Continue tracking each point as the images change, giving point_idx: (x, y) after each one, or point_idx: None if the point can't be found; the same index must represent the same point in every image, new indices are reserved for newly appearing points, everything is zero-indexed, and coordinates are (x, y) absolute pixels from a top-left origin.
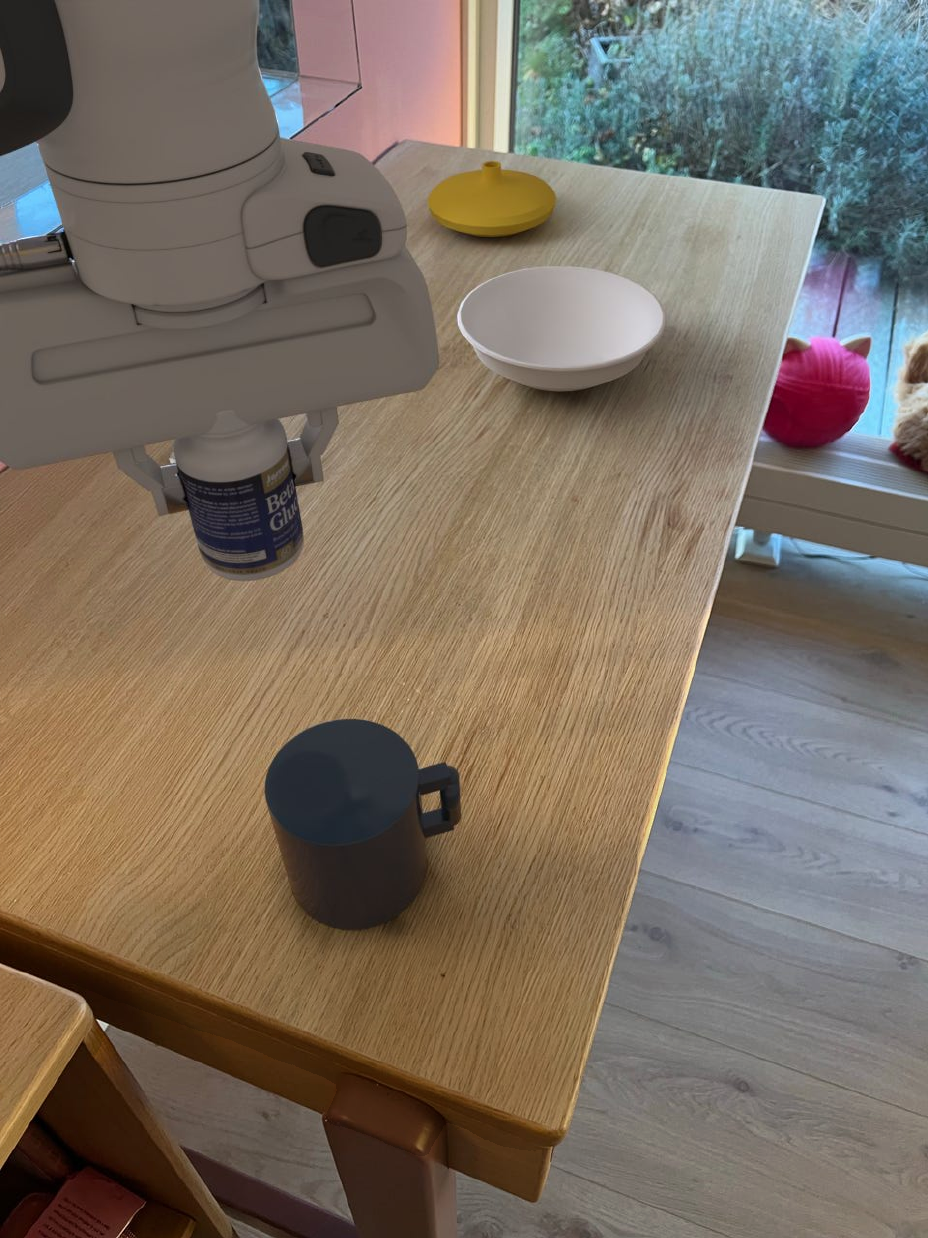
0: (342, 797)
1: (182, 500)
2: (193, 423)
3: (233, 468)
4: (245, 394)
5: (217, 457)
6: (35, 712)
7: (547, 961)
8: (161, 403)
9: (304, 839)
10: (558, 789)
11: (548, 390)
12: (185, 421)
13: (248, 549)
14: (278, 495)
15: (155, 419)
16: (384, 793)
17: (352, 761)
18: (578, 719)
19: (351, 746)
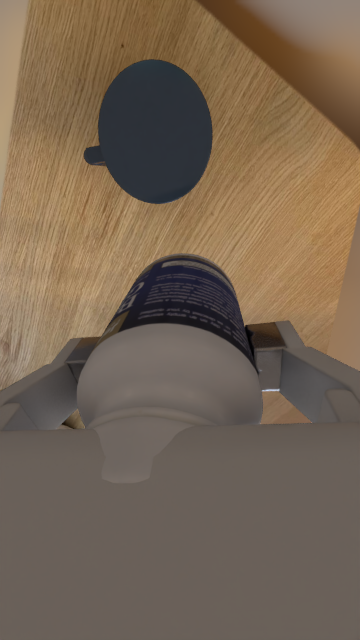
0: (154, 117)
1: (254, 332)
2: (219, 460)
3: (156, 341)
4: (38, 531)
5: (183, 368)
6: (326, 297)
7: (58, 43)
8: (338, 589)
9: (186, 74)
10: (55, 185)
11: (63, 425)
12: (242, 472)
13: (179, 266)
14: (117, 313)
15: (348, 506)
16: (123, 116)
17: (146, 157)
18: (46, 233)
19: (147, 174)
